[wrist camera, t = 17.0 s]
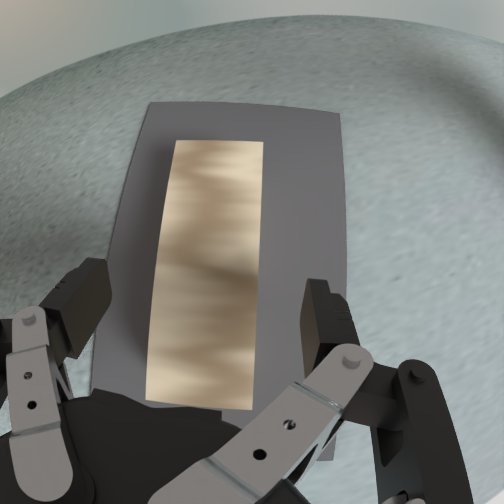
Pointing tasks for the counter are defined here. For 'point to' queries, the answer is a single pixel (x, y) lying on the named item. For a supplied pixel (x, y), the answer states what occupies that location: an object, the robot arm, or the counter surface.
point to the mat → (270, 248)
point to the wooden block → (207, 277)
